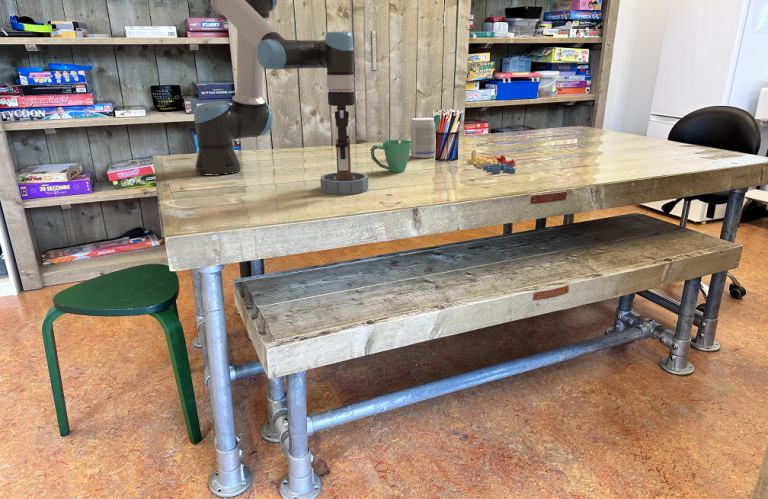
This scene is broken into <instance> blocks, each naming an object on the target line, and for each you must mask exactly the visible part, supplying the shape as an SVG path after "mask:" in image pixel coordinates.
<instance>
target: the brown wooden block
mask: <svg viewBox="0 0 768 499" xmlns="http://www.w3.org/2000/svg"><path fill="white" fill-rule="evenodd" d="M347 143H348V146H347V147H348V170H339V166H338V147H336V146H335V149H336V150H335V152H336V172H337V178H338V179H351V172H352V166H351V164H352V163H351V140H350V138H349V139H347ZM336 144H338V138H336V139H335V145H336Z"/></svg>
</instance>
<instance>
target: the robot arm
mask: <svg viewBox="0 0 768 499" xmlns="http://www.w3.org/2000/svg"><path fill="white" fill-rule="evenodd" d="M206 2H207V4H208V5H209V7H210V8H211V9H212V10H213V11H214V12H215V13H216V14H218V15H222V16H224V18H226V20H228V21H229V22H230V23H231V25H232V26H233V27H234V28H235V29H237V31H236V32H237V33H236V35H237V37H236V39H237V40H236V48H237V49H236V52H237V53H236V94H234V95H233V96H232V97H231V99H232V100H231V102H232V103H231V104H230V103H229V101H227V100H218V101H212V102H206V103H202V104H199V105H197V106H196V107H195V108H194V109H193V114H194V116H193V118H194V120H193V122H194V125H195V132H196V140H197V148H198V149H197V150H198V152H197V157H196V162H195V166H194V167H195V173H196V172H197V173H200V174H225V173H232V172H236V171H239V170H240V169H241V162H240V160H239V158H238V155H237V154H236V151H235V149H234V142H233V140H237V139H246V138H258V137H261V136H265V135H266V134H267V133H269V131H270V130H271V128H272V125H273V121H274V120H273V119H274V118H273V112H272V108H271V106H270V105H269V104H268V103H267V99H266V98H265V97H264V96H263V78H264V76H263V75H264V74H263V73H264V69H266V70H274V71H276V70H277V71H278V70H293V69H297V70H300V69H301V70H302V69H326V87H327V88H326V89H327V90H328V92H327V104H328V106H331V107H336V109H337V110H336V111H334V120H335V127H336V128H337V139H338V144H336V143H335V148H336V147H338V166H339V170H348V147H347V146H348V143H347V139H350V135H348V133H347V132H348V131H347V128H348V127H349V116H350V115H349V114H350V113H349V111H347V106H349V107H350V106H353V105H354V104H355V103H356V102H355V99H356V98H355V91H353V90H354V89H355V83H354V82H357V78H355V77H354V76H355V75H354V72H355V70H354V67H355V66H354V63H355V62H354V58H355V57H354V51H355V48H354V39H353V34H352V33H351V32H349V31H329V32H326V33H325V36H324V37H325V39H324V40H322V39H319V40H318V39H317V40H315V39H311V40H310V39H309V40H308V39H307V40H305V39H300V40H298V39H285V38H284V37H283V36H282V34H280V32H278V31H277V29H275V28H274V27H272V24H270V23H269V22H267V21H268V20H269V19H270V12H272V11H274V10H275V9H276V6H277V4H278V0H206ZM241 170H242V169H241ZM239 172H240V171H239ZM197 173H196V174H197ZM236 173H237V172H236ZM232 174H233V173H232Z"/></svg>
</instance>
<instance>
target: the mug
mask: <svg viewBox="0 0 768 499" xmlns="http://www.w3.org/2000/svg"><path fill="white" fill-rule="evenodd" d="M411 145H412V142H411V140H406V139H401V140H400V142H399V140H398V139H389V140H384V141H382V145H381V144H373V145H372V146H371V148H370V157H371V160H373V162H374V163H376V165H377V166H379V167H380V168H382V169H384V170H388V171H390V173H403V172H405V171H406V168H407V164H408V162H409V159H410V155H411ZM377 149H378V150H383V151H384V155H385V160H386V162H387V165H385V164H382V163H381V162H380V161H379V160H378V159H377V158H376V156H375V151H376V150H377Z"/></svg>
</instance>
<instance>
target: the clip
mask: <svg viewBox="0 0 768 499" xmlns="http://www.w3.org/2000/svg"><path fill="white" fill-rule="evenodd" d="M353 180H355V176H351V179H338V178H337V176H335V177H334V181H353Z"/></svg>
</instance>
